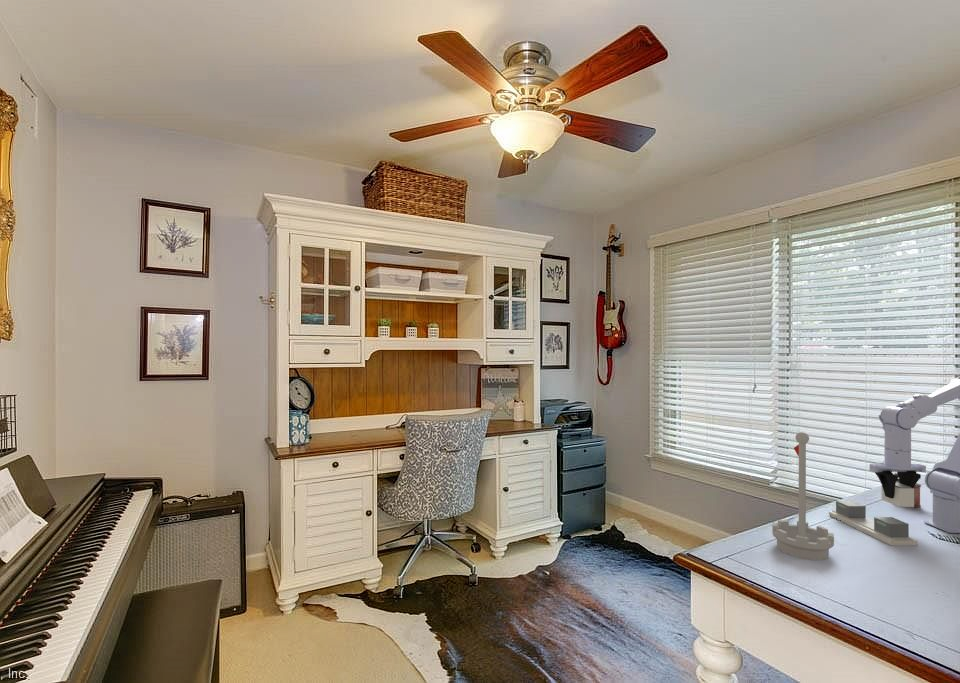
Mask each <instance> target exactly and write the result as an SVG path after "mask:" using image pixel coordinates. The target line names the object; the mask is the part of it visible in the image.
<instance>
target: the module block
mask: <svg viewBox="0 0 960 683" xmlns="http://www.w3.org/2000/svg"><path fill="white" fill-rule="evenodd" d="M881 501H883V502H886V503H889V504H891V505H894V506H897V507H899V508H911V507H914V489H913V488H911V487H910V486H907V485H904V484H901V483H898V482H896V484H895V493H894V498H889V497H886V496H885V493H884V490H883V487H882V486H881Z"/></svg>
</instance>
